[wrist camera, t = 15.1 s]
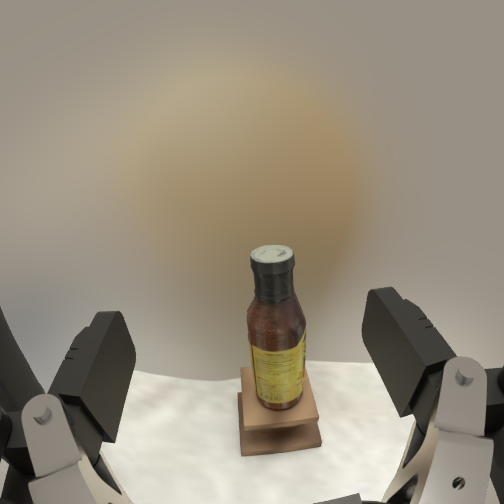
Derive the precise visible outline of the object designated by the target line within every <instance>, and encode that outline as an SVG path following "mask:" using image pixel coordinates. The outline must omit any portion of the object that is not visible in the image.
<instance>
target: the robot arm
mask: <svg viewBox="0 0 504 504" xmlns="http://www.w3.org/2000/svg"><path fill="white" fill-rule="evenodd" d="M362 338H363V342H364V344H365V346H366V348H367V350H368V352H369V354H370V356H371V358H372V360H373V362H374V364H375V366H376V368H377V370H378V372H379V374H380V376H381V378H382V380H383V382H384V384H385V386H386V389H387V391H388V393H389V395H390V397H391V399H392V401H393V403H394V405H395V407H396V410H397V412H398V414H399V416H400V418H401V417H404V416H407V415H410V414H413V415H414V417H415V419H416V420H415V421H414V423H413V425H412V429H411V432H410V435H409V439H408V442H407V445H406V448H405V451H404V454H403V457H402V460H401V462H400V465H399V468H398V470H397V473H396V475H395V477H394V479H393V480H392V482H391V483H390V485H389V487H388V489H387V490H386V492H385V494H384V496H383V499H382V501H381V502H378V501H361V498H360V495H359V493H357V494H354V495H350V496H346V497H342V498H338V499H333V500H329V501H324V502H319V503H314V504H484V501H485V497H486V492H487V488H488V482H489V477H490V478H491V480H492V483H493V486H494V488H495V490H496V493H497V496H498V499H499V502H500V504H504V366H503V368H493V369H484V368H483V367H482V366H481V365H480V364H479V363H478V362H477V361H475V360H473V359H471V358H468V357H457V356H456V354H455V353H454V351H453V350H452V349H451V347H450V346H449V345H448V344H447V342H446V341H445V340H444V338H443V337H442V336H441V334H440V333H439V332H438V330H437V329H436V328H435V327H433V324H432V323H431V322H430V320H429V319H427V317H426V315H425V314H424V313H423V312H422V310H421V309H420V308H419V307H418V306H416V305H415V304H413V303H412V302H410V301H409V300H407V299H405V300H403V299H402V298H401V296H400V295H399V294H398V293H397V292H396V290H395V289H394V288H393V287H385V288H378V289H371V290H370V291H369V292H368V296H367V302H366V308H365V313H364V318H363V323H362ZM135 362H136V352H135V347H134V344H133V342H132V339H131V336H130V334H129V331H128V328H127V326H126V323H125V320H124V317H123V315H122V313H121V312H120V311H108V312H107V311H106V312H98V313H96V315H95V317H94V319H93V321H92V323H91V324H90V326H89V327H85V328H84V329H83V330H82V331H81V332H80V333H79V334H78V335H77V336H76V337H75V339H74V340H73V342H72V344H71V346H70V350H68V352H67V354H66V356H65V360H63V362H62V364H61V366H60V368H59V370H58V372H57V374H56V376H55V378H54V380H53V382H52V384H51V387H50V389H49V391H48V393H46V392H45V390H44V389H43V388H42V386H41V385H40V383H39V382H38V380H37V379H36V377H35V375H34V373H33V372H32V370H31V368H30V366H29V364H28V362H27V360H26V359H25V357H24V355H23V353H22V352H21V350H20V348H19V346H18V345H17V343H16V341H15V339H14V337H13V335H12V333H11V330H10V329H9V326H8V324H7V322H6V320H5V317H4V315H3V312H2V310H1V307H0V461H1V458H2V459H3V460H5V461H6V462H7V463H8V464H9V468H8V471H7V475H6V479H5V482H4V487H3V491H2V495H1V498H0V504H133V502H132V501H131V500H130V499H129V497H128V496H127V494H126V493H125V491H124V490H123V488H122V486H121V485H120V483H119V481H118V480H117V478H116V476H115V475H114V473H113V471H112V469H111V468H110V466H109V464H108V462H107V460H106V458H105V456H104V455H103V453H102V451H101V450H100V448H101V444H102V442H109V443H115V441H116V437H117V432H118V428H119V424H120V420H121V416H122V412H123V408H124V404H125V400H126V396H127V392H128V388H129V385H130V381H131V377H132V374H133V370H134V367H135Z"/></svg>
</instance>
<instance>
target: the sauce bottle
mask: <svg viewBox="0 0 504 504" xmlns="http://www.w3.org/2000/svg"><path fill="white" fill-rule="evenodd" d="M250 261H251V268H252V270H253V272H254V281H255V291H254V292H255V297H254V300H253V302H252V303H251V305H250V306H249V308H248V310H247V325H248V342H249V350H250V358H251V366H252V374H253V381H254V388H255V392H256V395H257V397H258V400H259V402H260V403H261V404H263V405H264V406H266V407H269V408H271V409H276V410H279V409H280V410H283V409H286V408H289V407H291V406H293V405H295V404H296V403H297V402H298V401H299V400H300V398H301V396H302V393H303V389H304V376H305V351H306V350H305V348H306V320H305V316H304V314H303V311H302V309H301V306H300V304H299V301H298V299H297V296H296V294H295V291H294V286H293V268H294V265H295V261H294V253H293V251H292V250H291V248H289V247H287V246H282V245H266V246H262V247H259V248H257V249H255V250H254V251H253V252H251V256H250Z"/></svg>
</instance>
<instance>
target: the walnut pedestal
mask: <svg viewBox="0 0 504 504" xmlns="http://www.w3.org/2000/svg"><path fill="white" fill-rule="evenodd" d="M240 370H241V386H242V392H239V393H238V411H239V428H240V445H241V455H242V456H253V455H264V454H273V453H282V452H289V451H296V450H303V449H309V448H314V447H320V446H321V443H322V440H321V436H320V432H319V428H318V425H317V422H318V419H319V415H318V411H317V407H316V404H315V400H314V396H313V393H312V389H311V386H310V382H309V378H308V375H307V371H306V368H305V376H304V389H303V393H302V396H301V398H300V400H299V401H298V402H297V403H296V404H295V405H293V406H291V407H289V408H286V409H283V410H280V409H279V410H276V409H271V408H269V407H266V406H264V405H263V404H261V403H260V402H259V400H258V397H257V395H256V392H255V388H254V381H253V374H252V367H243V368H241V369H240Z"/></svg>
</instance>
